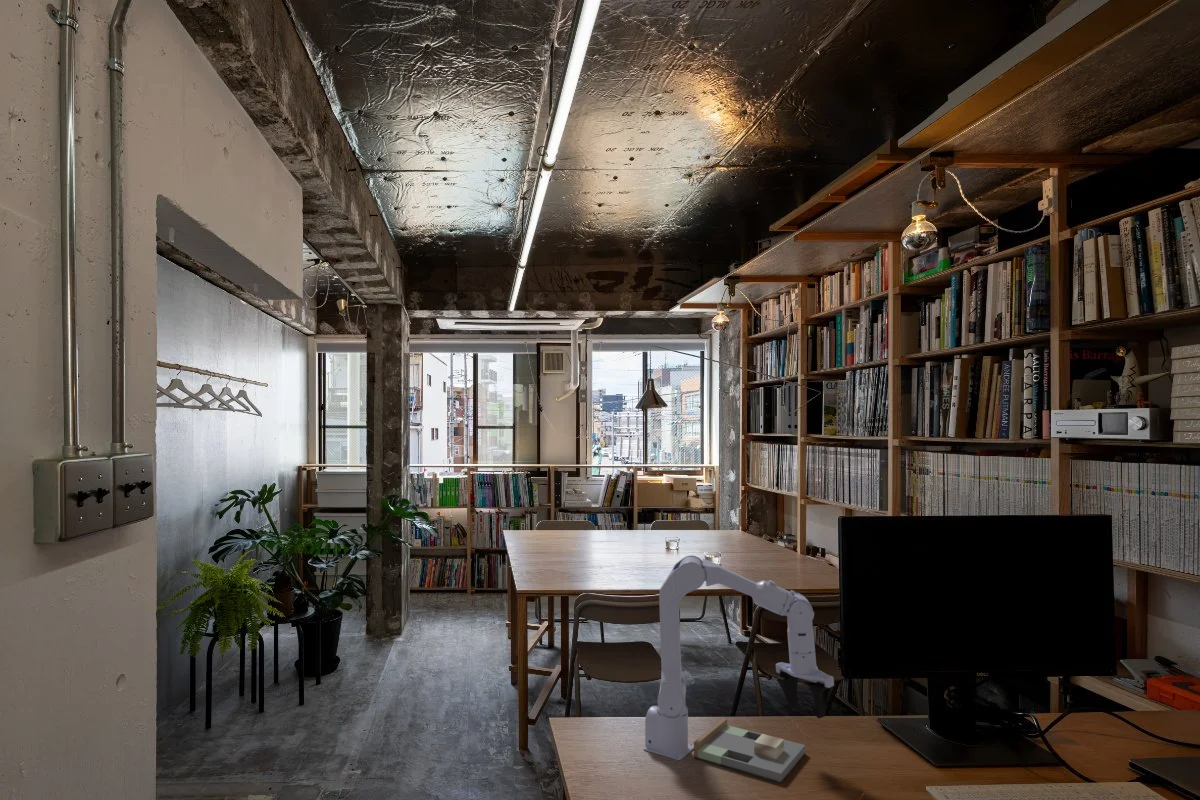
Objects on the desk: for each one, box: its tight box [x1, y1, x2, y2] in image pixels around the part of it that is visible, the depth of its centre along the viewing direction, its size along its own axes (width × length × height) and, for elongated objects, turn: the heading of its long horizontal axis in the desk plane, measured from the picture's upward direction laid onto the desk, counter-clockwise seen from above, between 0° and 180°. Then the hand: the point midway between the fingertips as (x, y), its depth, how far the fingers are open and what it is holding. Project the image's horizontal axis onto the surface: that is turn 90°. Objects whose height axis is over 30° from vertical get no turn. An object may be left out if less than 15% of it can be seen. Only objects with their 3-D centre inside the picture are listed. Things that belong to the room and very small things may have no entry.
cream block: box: [754, 733, 785, 759], centre depth 155 cm, size 5×5×2 cm
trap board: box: [693, 717, 806, 784], centre depth 158 cm, size 20×16×4 cm
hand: (806, 711), depth 157 cm, fingers open, 7 cm apart
